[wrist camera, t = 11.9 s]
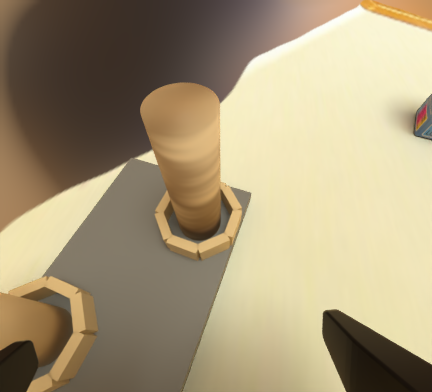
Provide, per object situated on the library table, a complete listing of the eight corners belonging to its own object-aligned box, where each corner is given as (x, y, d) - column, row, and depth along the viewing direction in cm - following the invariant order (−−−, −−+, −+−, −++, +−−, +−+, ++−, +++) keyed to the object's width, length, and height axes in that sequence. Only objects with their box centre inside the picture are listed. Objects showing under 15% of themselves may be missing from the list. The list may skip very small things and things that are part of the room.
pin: (226, 210, 23) (230, 90, 13) (211, 246, 21) (201, 141, 11) (189, 198, 24) (163, 77, 13) (172, 232, 22) (124, 121, 11)
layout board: (249, 200, 26) (274, 68, 14) (153, 471, 15) (-142, 1009, 3) (133, 165, 29) (69, 32, 17) (-15, 369, 18) (-501, 417, 6)
